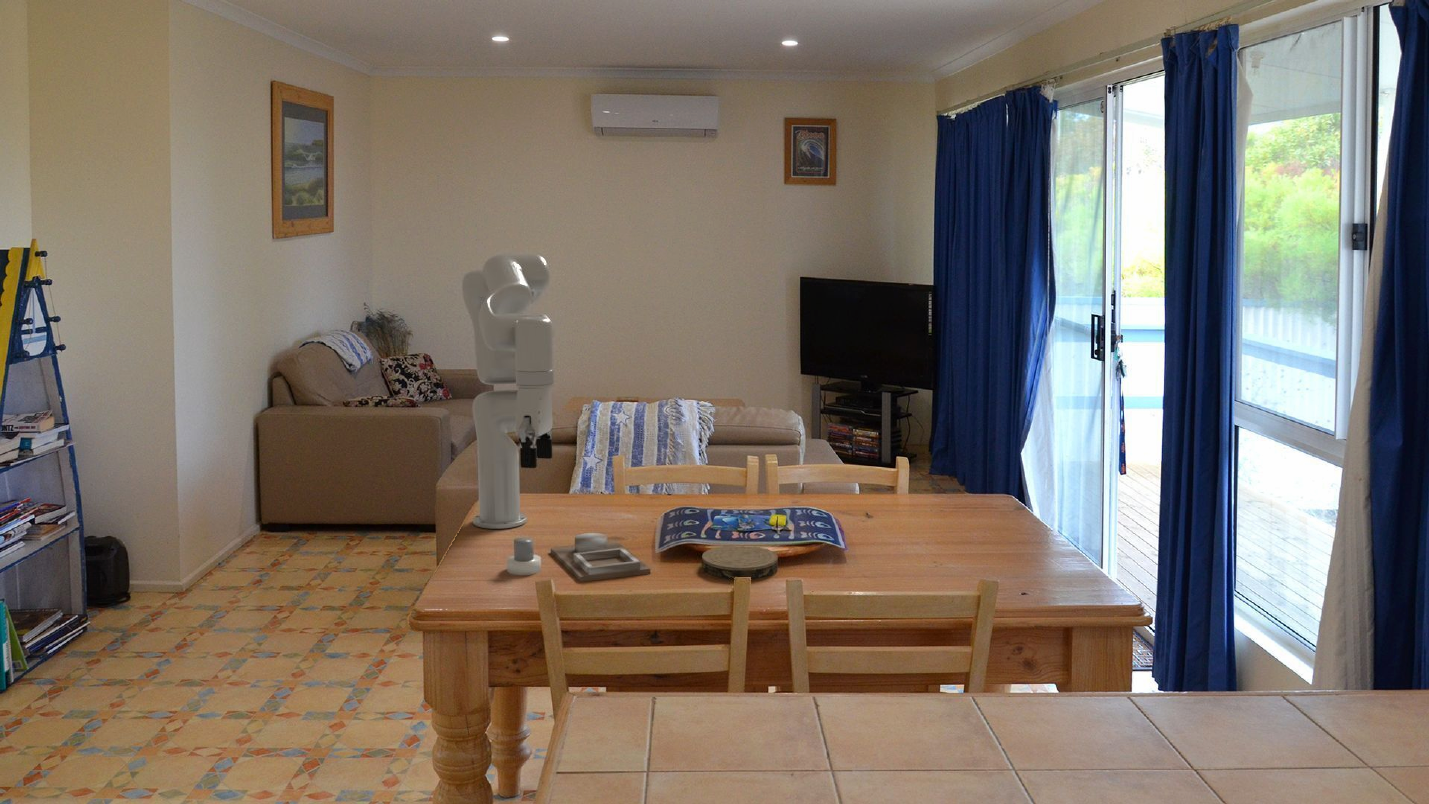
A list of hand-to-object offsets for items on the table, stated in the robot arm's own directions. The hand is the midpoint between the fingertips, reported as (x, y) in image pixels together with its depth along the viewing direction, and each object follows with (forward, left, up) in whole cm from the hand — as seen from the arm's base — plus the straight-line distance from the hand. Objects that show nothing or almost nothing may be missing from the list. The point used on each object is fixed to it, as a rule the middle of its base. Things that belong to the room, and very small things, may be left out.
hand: (536, 462), depth 243 cm
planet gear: (-4, -2, -24) cm, 24 cm away
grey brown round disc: (+12, +40, -24) cm, 48 cm away
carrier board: (-3, +14, -24) cm, 28 cm away
